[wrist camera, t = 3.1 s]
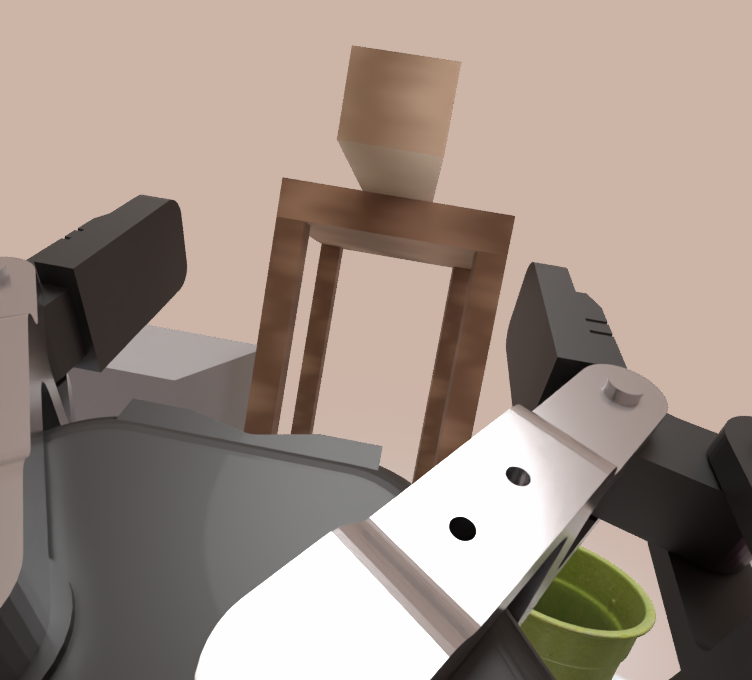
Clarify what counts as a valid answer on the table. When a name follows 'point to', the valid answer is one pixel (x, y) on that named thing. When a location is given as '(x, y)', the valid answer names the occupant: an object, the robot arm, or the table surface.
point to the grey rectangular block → (170, 376)
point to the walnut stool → (393, 239)
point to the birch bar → (397, 120)
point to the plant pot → (588, 618)
